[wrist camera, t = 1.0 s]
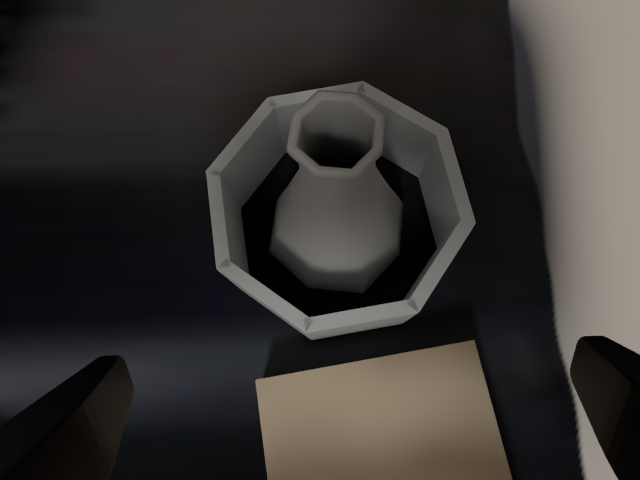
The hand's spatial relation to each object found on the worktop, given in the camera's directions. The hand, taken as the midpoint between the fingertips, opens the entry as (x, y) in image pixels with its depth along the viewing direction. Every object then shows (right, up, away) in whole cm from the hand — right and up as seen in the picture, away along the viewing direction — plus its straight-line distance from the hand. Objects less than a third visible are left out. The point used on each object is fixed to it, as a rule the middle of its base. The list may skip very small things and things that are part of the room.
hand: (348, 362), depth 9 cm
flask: (0, +3, +15) cm, 15 cm away
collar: (0, +3, +15) cm, 15 cm away
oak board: (+2, -9, +11) cm, 14 cm away
